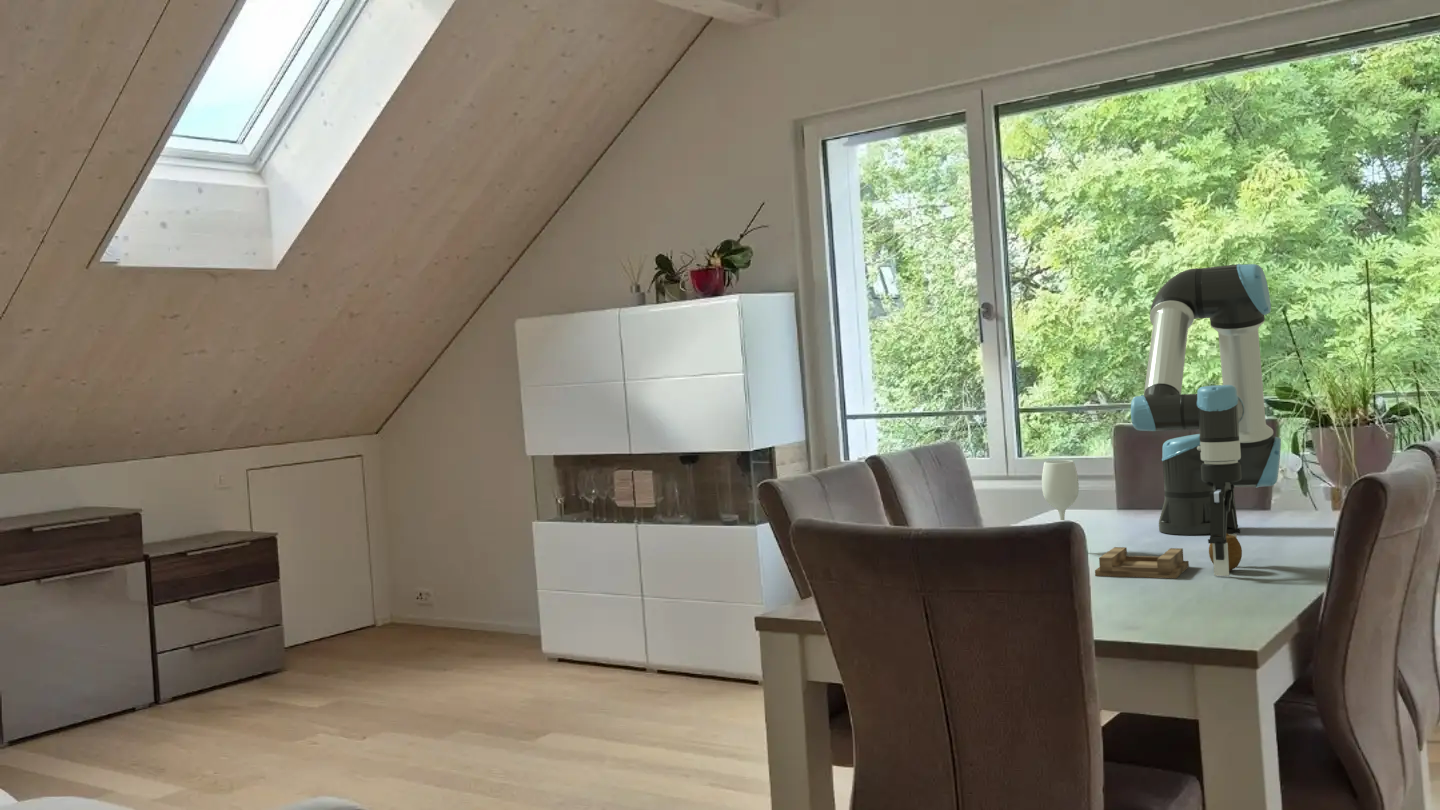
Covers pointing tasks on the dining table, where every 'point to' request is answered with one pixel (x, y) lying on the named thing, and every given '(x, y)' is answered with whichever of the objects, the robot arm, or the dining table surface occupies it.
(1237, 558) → the fruit
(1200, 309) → the robot arm
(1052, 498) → the wineglass
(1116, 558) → the cradle
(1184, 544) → the dining table surface
